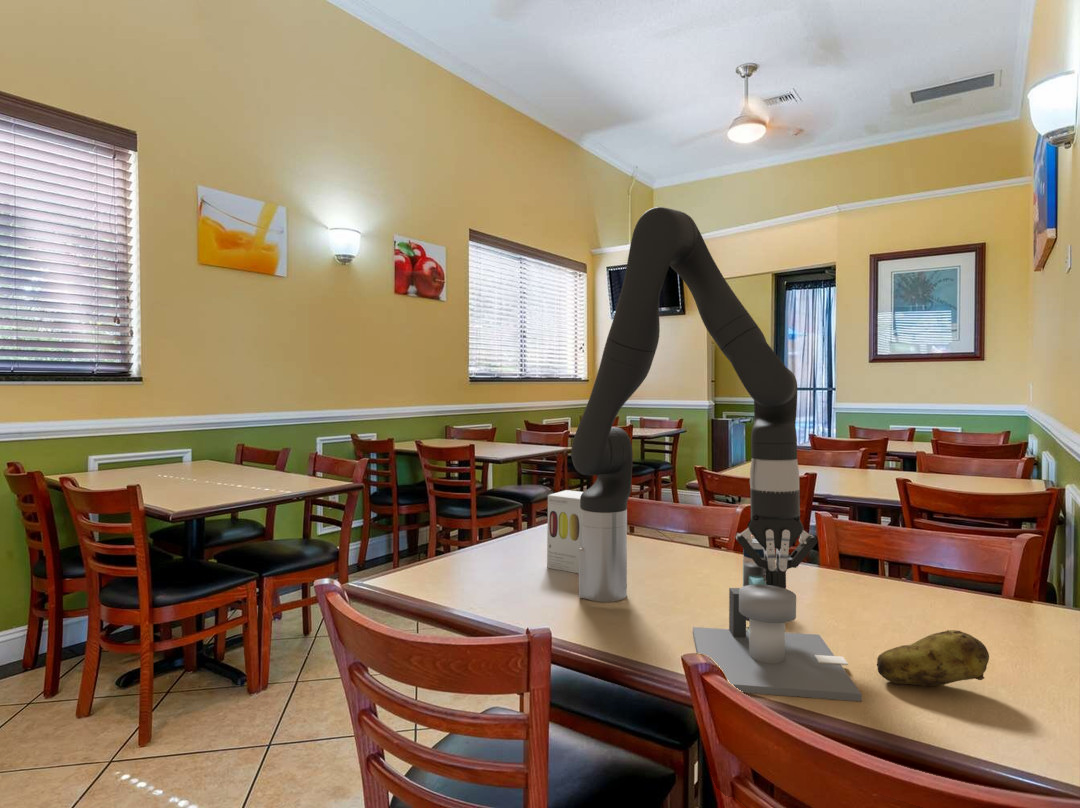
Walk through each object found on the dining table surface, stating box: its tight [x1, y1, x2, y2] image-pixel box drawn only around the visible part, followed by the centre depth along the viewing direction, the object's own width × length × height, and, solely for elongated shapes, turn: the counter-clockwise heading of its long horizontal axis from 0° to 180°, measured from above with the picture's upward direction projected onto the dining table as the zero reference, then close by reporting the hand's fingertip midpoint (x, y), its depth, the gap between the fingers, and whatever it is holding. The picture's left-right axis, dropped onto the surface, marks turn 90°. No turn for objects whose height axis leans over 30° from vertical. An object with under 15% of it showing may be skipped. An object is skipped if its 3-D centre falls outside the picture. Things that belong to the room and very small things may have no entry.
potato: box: [876, 629, 990, 687], centre depth 86 cm, size 8×13×8 cm, turn 57°
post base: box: [692, 587, 862, 702], centre depth 94 cm, size 21×21×8 cm
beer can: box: [742, 537, 766, 587], centre depth 119 cm, size 5×5×12 cm
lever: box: [739, 563, 797, 624], centre depth 98 cm, size 18×8×9 cm, turn 170°
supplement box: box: [546, 489, 584, 575], centre depth 144 cm, size 10×9×17 cm
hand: (776, 592), depth 102 cm, fingers closed
